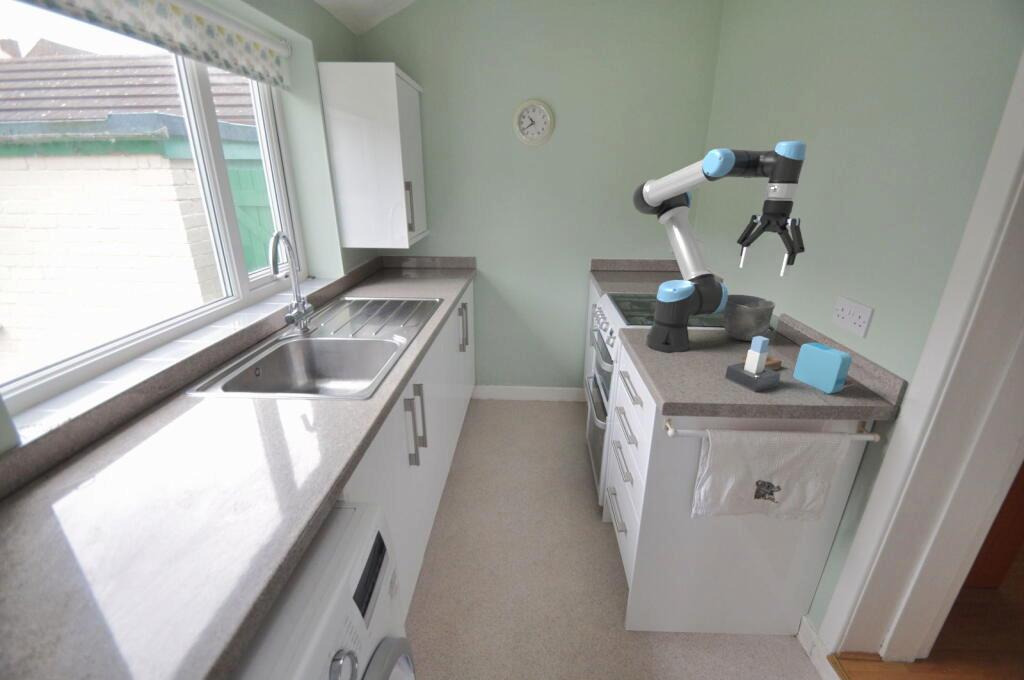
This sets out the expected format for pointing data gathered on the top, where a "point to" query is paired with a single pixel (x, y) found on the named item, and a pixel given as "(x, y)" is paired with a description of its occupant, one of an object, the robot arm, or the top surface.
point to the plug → (757, 355)
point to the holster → (768, 362)
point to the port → (752, 377)
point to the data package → (822, 367)
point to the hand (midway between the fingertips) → (762, 271)
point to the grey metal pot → (747, 316)
